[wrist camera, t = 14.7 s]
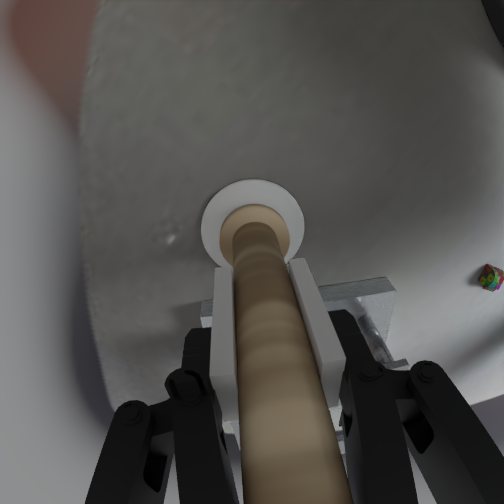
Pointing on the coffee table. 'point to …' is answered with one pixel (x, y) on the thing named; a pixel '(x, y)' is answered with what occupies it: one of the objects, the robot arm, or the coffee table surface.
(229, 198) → the coaster
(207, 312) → the grey square frame
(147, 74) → the coffee table surface
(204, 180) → the coffee table surface
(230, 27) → the coffee table surface
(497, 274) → the multicolour small angular block
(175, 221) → the coffee table surface
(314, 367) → the turned wooden spindle
